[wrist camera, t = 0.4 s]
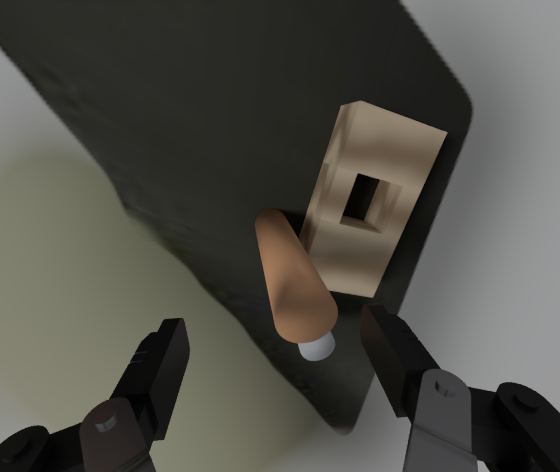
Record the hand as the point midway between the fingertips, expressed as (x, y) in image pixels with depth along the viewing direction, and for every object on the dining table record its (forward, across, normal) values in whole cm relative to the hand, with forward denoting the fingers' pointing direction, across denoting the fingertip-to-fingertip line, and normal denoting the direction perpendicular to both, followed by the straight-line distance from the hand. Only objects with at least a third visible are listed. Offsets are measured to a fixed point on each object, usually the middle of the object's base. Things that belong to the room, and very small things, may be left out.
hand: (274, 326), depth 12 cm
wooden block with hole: (+22, -11, 0) cm, 25 cm away
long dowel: (+22, 0, +3) cm, 22 cm away
